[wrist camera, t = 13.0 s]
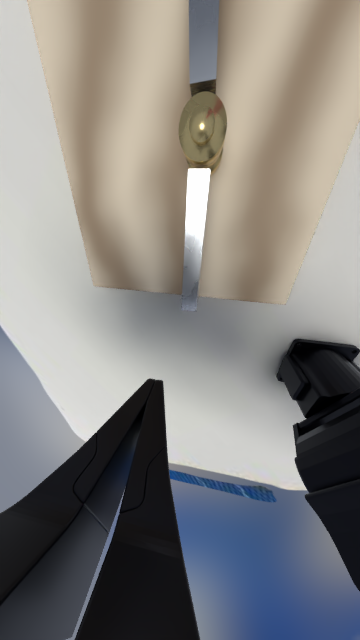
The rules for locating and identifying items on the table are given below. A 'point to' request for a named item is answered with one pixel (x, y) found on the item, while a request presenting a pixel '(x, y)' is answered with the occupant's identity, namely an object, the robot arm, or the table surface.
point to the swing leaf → (203, 47)
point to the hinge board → (164, 145)
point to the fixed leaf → (199, 180)
